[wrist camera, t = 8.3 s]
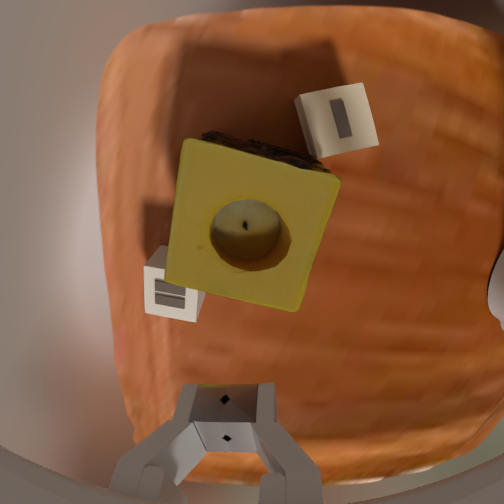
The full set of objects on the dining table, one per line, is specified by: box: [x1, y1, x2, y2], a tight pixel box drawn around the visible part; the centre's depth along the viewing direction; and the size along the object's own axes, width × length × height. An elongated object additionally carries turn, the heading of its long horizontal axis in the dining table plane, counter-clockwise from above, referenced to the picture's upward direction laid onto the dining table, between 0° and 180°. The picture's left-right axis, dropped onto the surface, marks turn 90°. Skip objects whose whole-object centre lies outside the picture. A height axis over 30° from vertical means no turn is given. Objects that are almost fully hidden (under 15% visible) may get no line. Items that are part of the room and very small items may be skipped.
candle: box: [164, 131, 341, 312], centre depth 24 cm, size 10×10×10 cm
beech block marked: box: [294, 83, 379, 159], centre depth 23 cm, size 5×5×5 cm
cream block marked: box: [144, 245, 205, 322], centre depth 29 cm, size 5×5×5 cm
